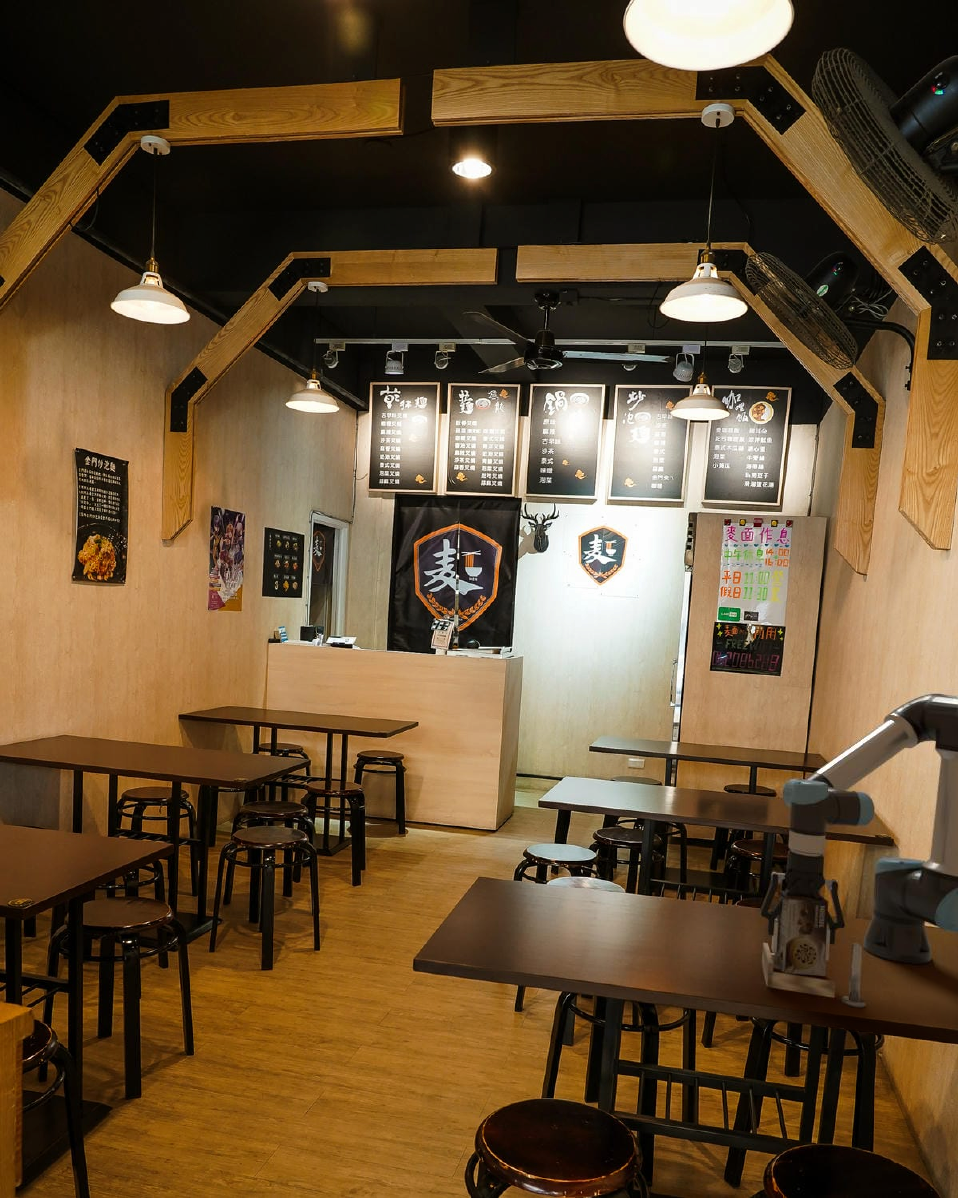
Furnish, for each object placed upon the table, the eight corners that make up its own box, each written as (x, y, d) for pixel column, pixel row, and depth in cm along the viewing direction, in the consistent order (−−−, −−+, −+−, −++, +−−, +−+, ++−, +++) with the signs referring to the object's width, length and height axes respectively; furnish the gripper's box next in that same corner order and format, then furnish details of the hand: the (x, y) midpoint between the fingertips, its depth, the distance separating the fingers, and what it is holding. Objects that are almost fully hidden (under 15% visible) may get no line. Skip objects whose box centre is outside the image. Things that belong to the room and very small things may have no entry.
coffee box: (812, 965, 199) (817, 892, 199) (825, 976, 192) (830, 901, 193) (772, 963, 198) (777, 889, 199) (783, 973, 192) (788, 898, 193)
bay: (824, 975, 200) (825, 952, 201) (834, 997, 187) (835, 973, 187) (761, 965, 204) (763, 942, 204) (767, 986, 190) (768, 963, 190)
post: (862, 1001, 186) (866, 943, 187) (867, 1009, 182) (870, 949, 182) (840, 997, 187) (844, 939, 188) (844, 1005, 183) (847, 946, 183)
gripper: (857, 855, 198) (851, 957, 196) (751, 841, 203) (744, 941, 202) (864, 862, 190) (858, 968, 189) (753, 848, 195) (747, 951, 194)
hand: (799, 954), depth 195 cm, fingers closed on coffee box, 10 cm apart
